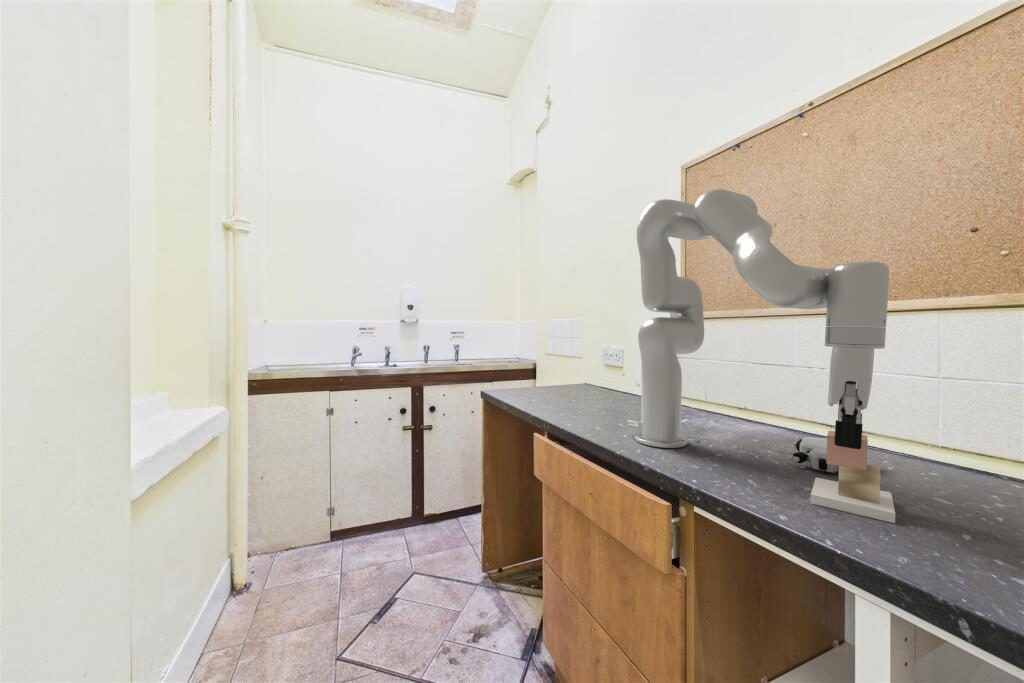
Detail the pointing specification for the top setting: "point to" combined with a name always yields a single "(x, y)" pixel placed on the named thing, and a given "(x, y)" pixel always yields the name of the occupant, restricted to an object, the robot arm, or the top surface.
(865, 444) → the clay brick
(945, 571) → the top surface
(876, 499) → the beech brick
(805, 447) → the robot toy
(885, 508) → the base plate
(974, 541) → the top surface
